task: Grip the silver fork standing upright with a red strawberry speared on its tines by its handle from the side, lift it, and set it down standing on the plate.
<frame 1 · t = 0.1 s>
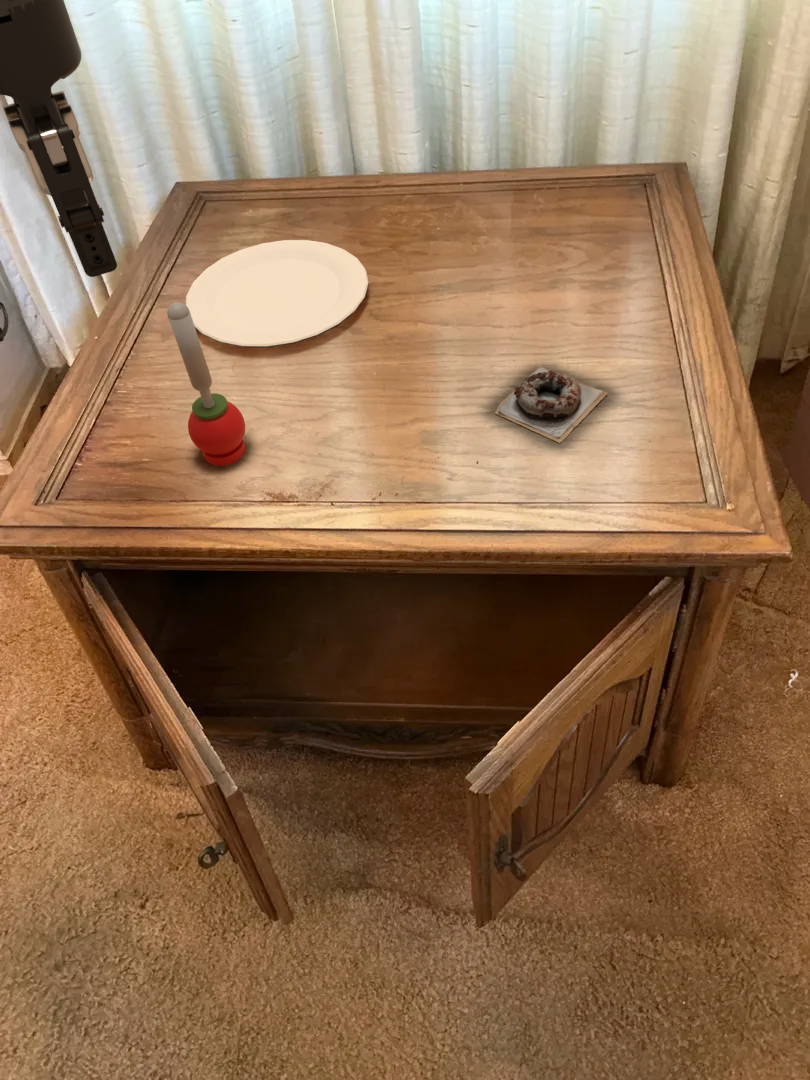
hand: (90, 243, 61), 24 cm above the table, tool pointing down, fingers open, 8 cm apart
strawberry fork: (224, 451, 81), on the table
plate: (279, 302, 97), on the table
donut: (551, 406, 82), on the table
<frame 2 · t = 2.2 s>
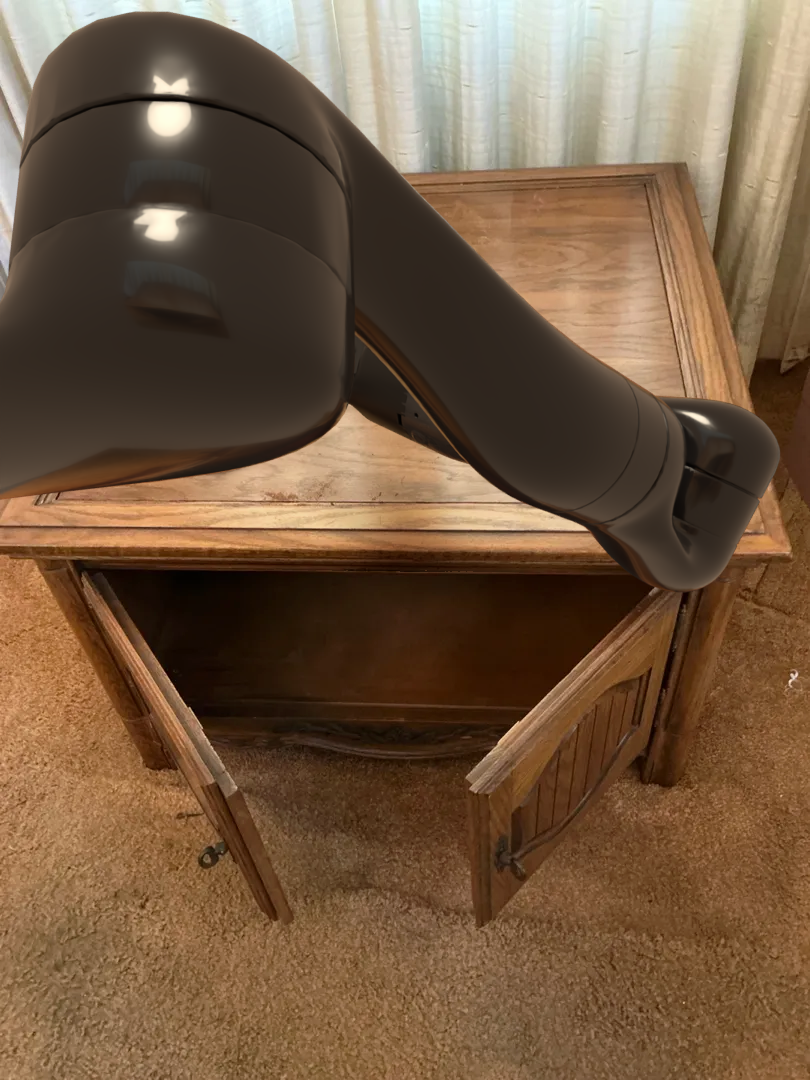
hand: (264, 313, 61), 20 cm above the table, tool horizontal, fingers open, 8 cm apart
nothing on the table moved.
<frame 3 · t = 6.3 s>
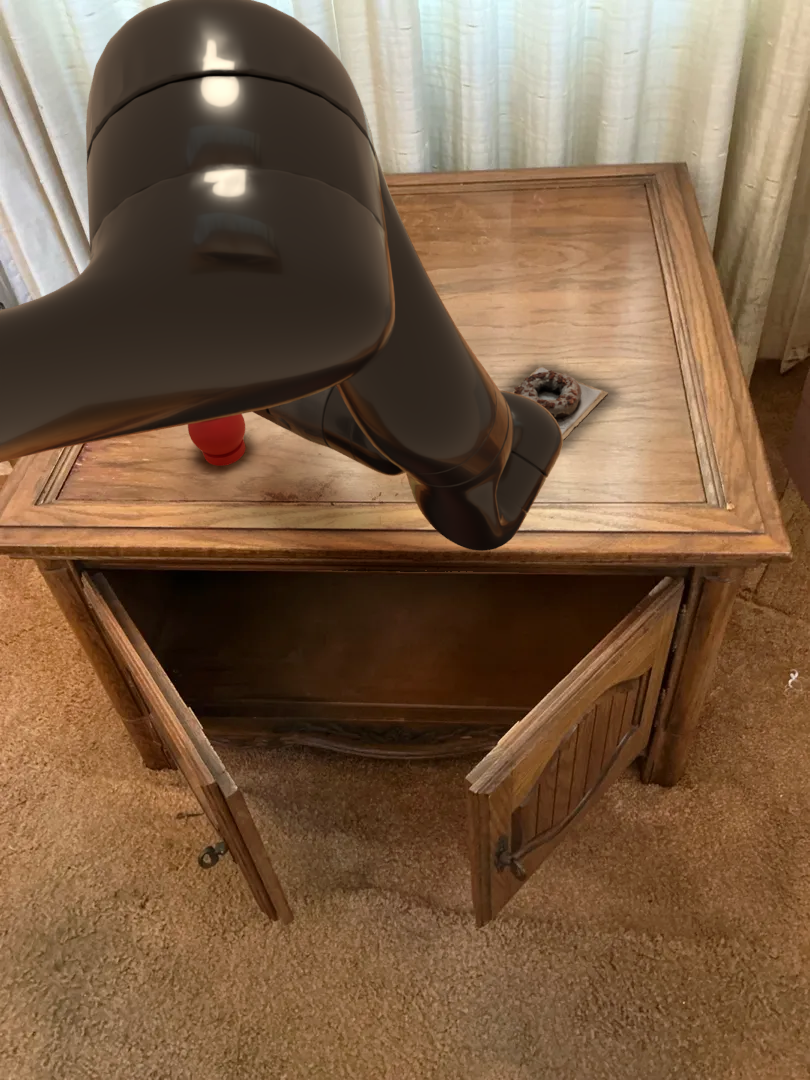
hand: (159, 313, 71), 14 cm above the table, tool horizontal, fingers closed on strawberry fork
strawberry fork: (224, 451, 81), on the table, touching gripper
everything else where it was.
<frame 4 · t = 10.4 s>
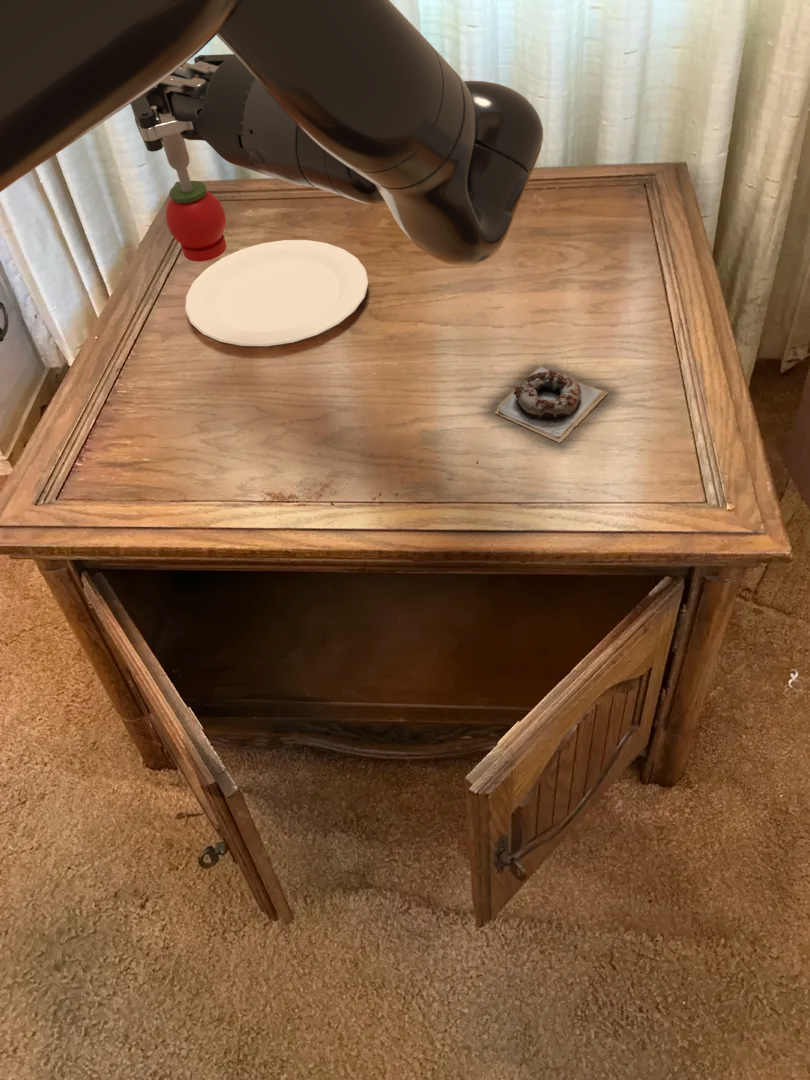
hand: (133, 79, 69), 28 cm above the table, tool horizontal, fingers closed on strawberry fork
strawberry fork: (205, 249, 78), point 14 cm above the table, touching gripper
everything else where it was.
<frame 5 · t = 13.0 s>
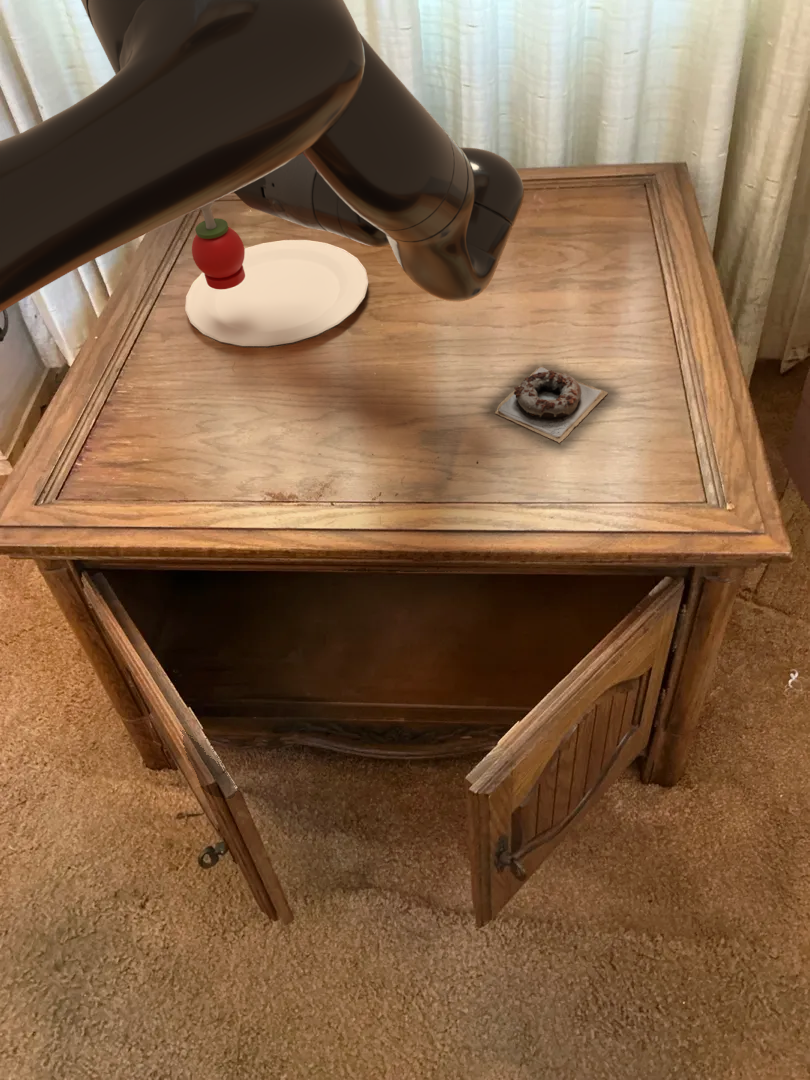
hand: (164, 131, 78), 21 cm above the table, tool horizontal, fingers closed on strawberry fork
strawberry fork: (226, 278, 88), point 7 cm above the table, touching gripper
everything else where it was.
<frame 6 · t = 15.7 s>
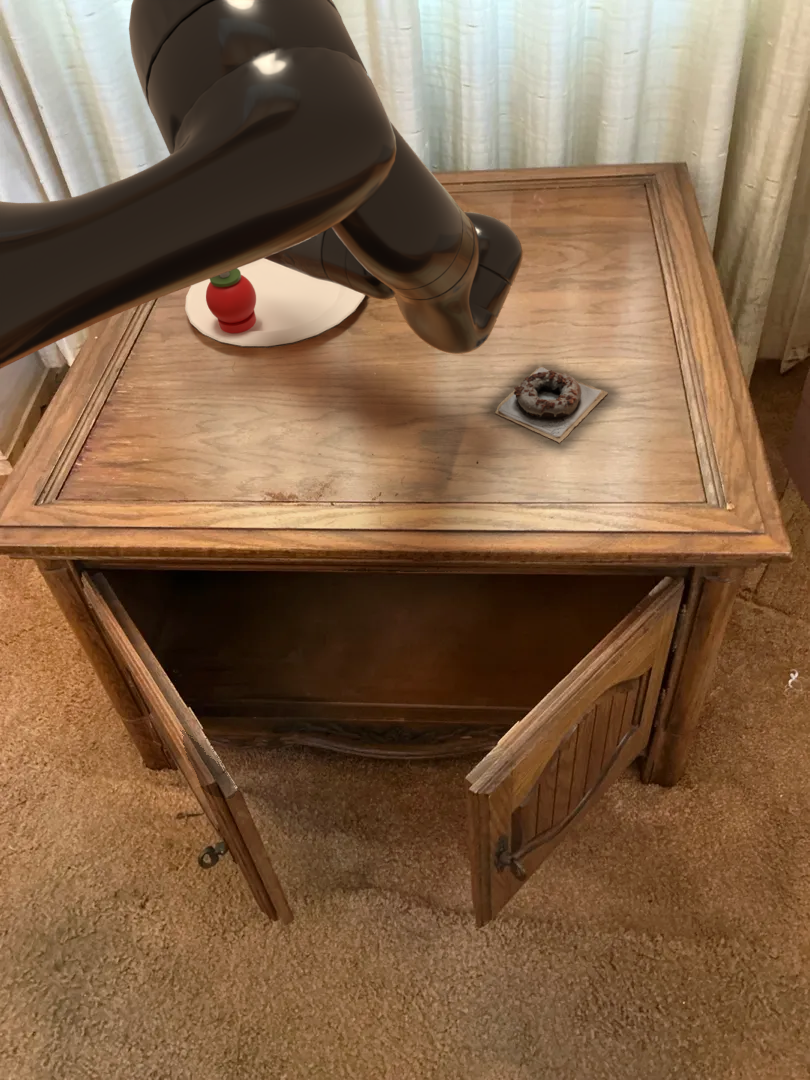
hand: (185, 183, 81), 17 cm above the table, tool horizontal, fingers open, 8 cm apart
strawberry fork: (237, 322, 92), point 2 cm above the table, touching plate
plate: (279, 302, 97), on the table, touching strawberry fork
everything else where it was.
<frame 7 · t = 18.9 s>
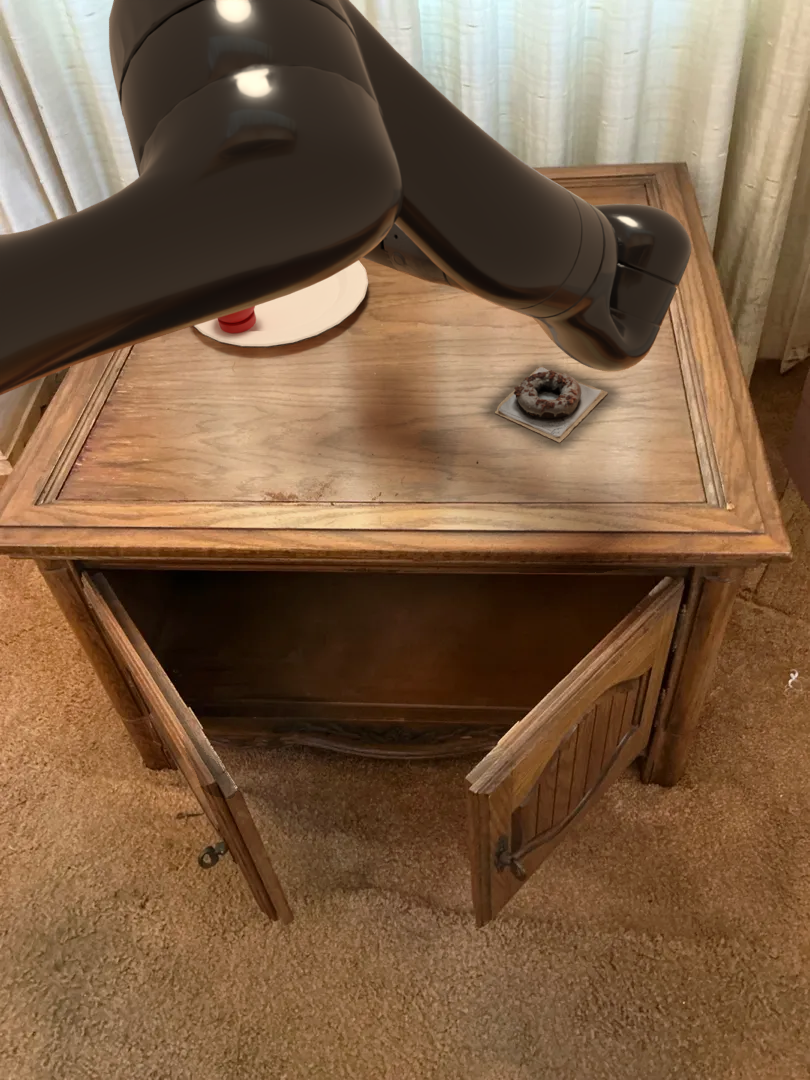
hand: (267, 172, 71), 22 cm above the table, tool horizontal, fingers open, 8 cm apart
nothing on the table moved.
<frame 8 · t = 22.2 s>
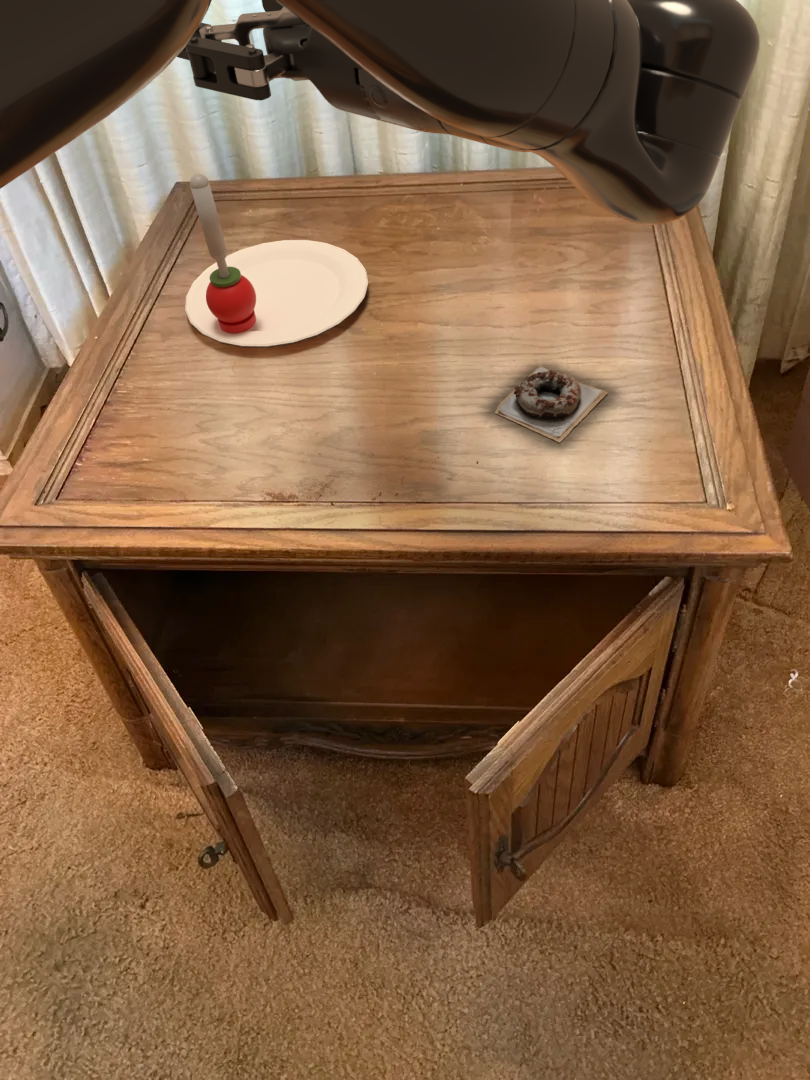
hand: (219, 14, 57), 35 cm above the table, tool horizontal, fingers open, 8 cm apart
nothing on the table moved.
at the end: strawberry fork inside the target area on the plate (0.2 cm from its centre), point 1.9 cm above the plate's base; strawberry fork tilted 0°; the gripper is holding nothing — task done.
